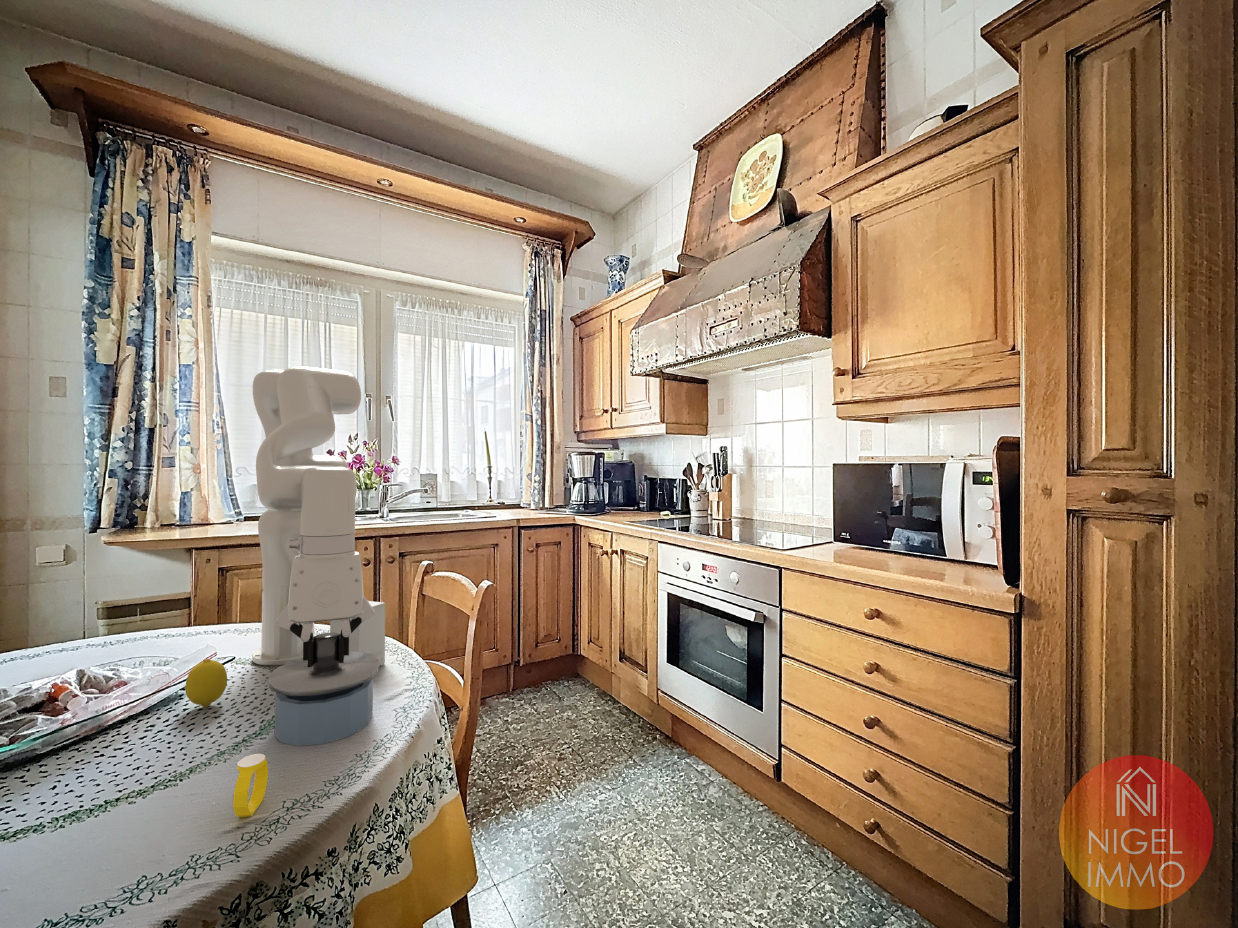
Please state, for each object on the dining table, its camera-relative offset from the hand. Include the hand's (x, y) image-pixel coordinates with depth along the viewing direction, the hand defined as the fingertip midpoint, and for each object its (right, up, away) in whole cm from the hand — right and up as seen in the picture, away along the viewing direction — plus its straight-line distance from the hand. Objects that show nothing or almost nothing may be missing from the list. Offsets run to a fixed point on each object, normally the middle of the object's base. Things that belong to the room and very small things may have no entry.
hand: (326, 661), depth 84 cm
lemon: (-23, -10, +5) cm, 25 cm away
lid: (0, -2, 0) cm, 2 cm away
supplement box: (-6, -10, +23) cm, 26 cm away
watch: (+2, -10, -21) cm, 23 cm away
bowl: (0, -10, 0) cm, 10 cm away
